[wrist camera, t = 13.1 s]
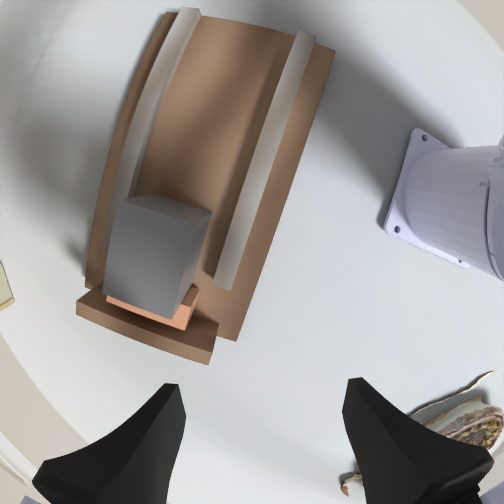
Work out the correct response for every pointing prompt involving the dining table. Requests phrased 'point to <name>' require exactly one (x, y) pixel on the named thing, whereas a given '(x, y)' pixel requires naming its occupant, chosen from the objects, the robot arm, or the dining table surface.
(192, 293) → the rail latch
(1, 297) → the skincare box
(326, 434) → the dining table surface
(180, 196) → the rail board
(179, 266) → the block
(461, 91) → the dining table surface
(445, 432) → the pie
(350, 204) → the dining table surface
